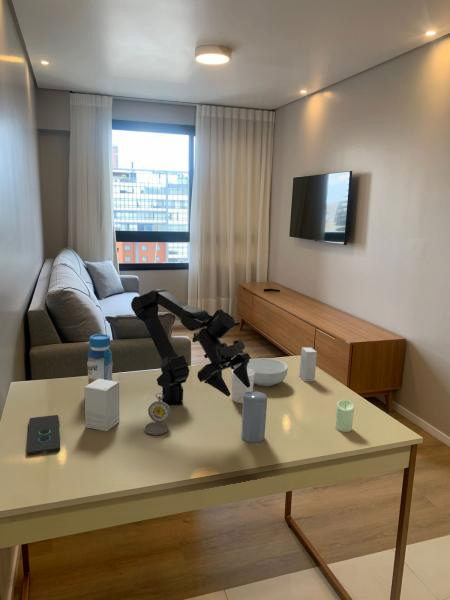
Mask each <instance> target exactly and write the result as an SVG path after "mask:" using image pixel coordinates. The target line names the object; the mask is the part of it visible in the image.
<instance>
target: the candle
mask: <svg viewBox="0 0 450 600" xmlns="http://www.w3.org/2000/svg"><path fill="white" fill-rule="evenodd" d="M354 411H355V405H354V403H353V401H350V400H348V399H341V400H339V401H337V403H336V413H335V423H334V428H335V429H336V430H337V431H340V432H342V433H347V432H351V431H352V430H353V422H354V421H353V420H354Z"/></svg>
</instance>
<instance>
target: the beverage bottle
mask: <svg viewBox="0 0 450 600" xmlns="http://www.w3.org/2000/svg"><path fill="white" fill-rule="evenodd" d="M110 346H111V336H110V335H108V334H103V333H97V334H91V336H90V335H89V347H90V349H89V350H88V353H87V359H88V360H87V363H86V367H87V385H89V384H90V383H92V382H94V381H95V380H97V379H104V380H109V381H113V365H114V364H113V363H114V361H113V359H112V358H113V353H112V351H111V348H110Z"/></svg>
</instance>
